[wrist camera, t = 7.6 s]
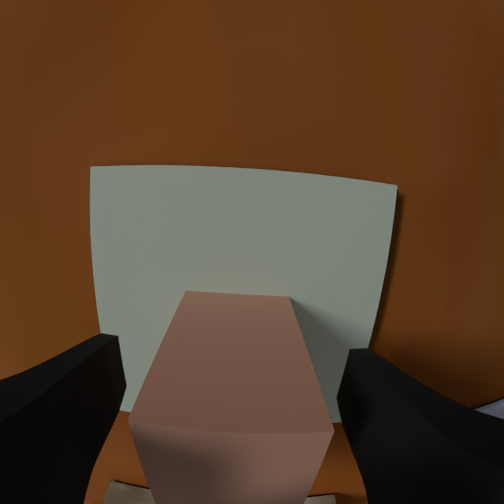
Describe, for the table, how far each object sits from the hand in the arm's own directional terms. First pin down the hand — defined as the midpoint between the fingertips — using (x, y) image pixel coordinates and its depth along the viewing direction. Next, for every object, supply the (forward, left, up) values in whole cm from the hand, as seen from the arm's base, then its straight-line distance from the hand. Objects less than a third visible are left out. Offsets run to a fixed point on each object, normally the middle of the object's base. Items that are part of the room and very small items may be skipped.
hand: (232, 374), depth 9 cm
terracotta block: (0, +1, -3) cm, 3 cm away
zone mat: (0, 0, -4) cm, 4 cm away
